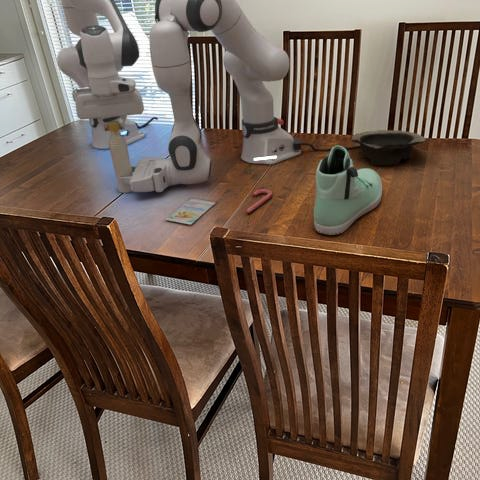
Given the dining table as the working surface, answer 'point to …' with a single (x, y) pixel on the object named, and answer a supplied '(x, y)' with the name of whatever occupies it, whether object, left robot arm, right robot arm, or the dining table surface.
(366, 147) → the stone bowl
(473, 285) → the dining table surface
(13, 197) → the dining table surface
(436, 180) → the dining table surface
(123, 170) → the bottle
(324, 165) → the sneaker
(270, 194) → the candy cane
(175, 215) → the baking ingredient package
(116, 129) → the cap
